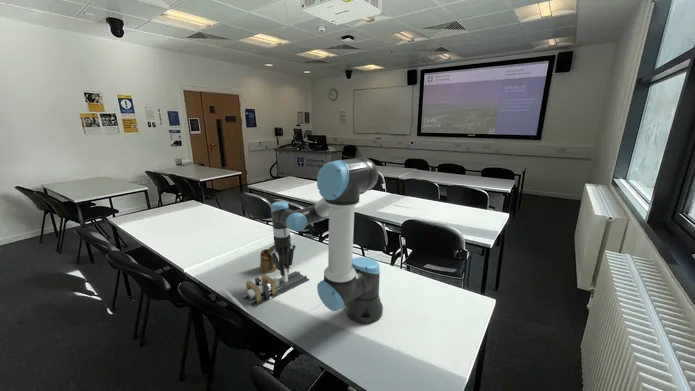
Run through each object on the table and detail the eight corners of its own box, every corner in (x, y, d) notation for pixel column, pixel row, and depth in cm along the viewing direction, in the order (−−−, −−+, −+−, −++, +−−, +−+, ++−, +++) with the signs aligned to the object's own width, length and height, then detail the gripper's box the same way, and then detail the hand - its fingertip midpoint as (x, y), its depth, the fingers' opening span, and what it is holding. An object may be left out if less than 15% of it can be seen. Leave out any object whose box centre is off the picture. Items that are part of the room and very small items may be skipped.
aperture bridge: (269, 297, 125) (268, 285, 123) (266, 299, 124) (265, 286, 122) (258, 289, 131) (257, 277, 130) (256, 290, 130) (254, 278, 129)
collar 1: (261, 301, 122) (260, 288, 121) (257, 303, 121) (255, 290, 119) (251, 292, 129) (250, 280, 127) (247, 294, 127) (245, 282, 126)
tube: (275, 286, 135) (273, 277, 134) (280, 287, 131) (278, 278, 131) (248, 298, 125) (245, 289, 125) (252, 301, 122) (250, 291, 121)
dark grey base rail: (310, 281, 139) (310, 278, 139) (253, 309, 119) (253, 305, 118) (295, 272, 147) (295, 269, 147) (240, 297, 127) (240, 293, 126)
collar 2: (276, 294, 128) (275, 281, 126) (272, 296, 126) (271, 283, 125) (266, 286, 134) (265, 274, 132) (262, 287, 132) (261, 275, 131)
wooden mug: (270, 280, 140) (267, 247, 136) (256, 271, 149) (253, 239, 145) (285, 273, 147) (282, 241, 142) (271, 264, 156) (268, 234, 151)
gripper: (288, 228, 136) (291, 272, 142) (264, 236, 127) (269, 283, 133) (298, 233, 131) (300, 278, 137) (274, 241, 122) (277, 289, 128)
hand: (285, 280), depth 135 cm, fingers closed
